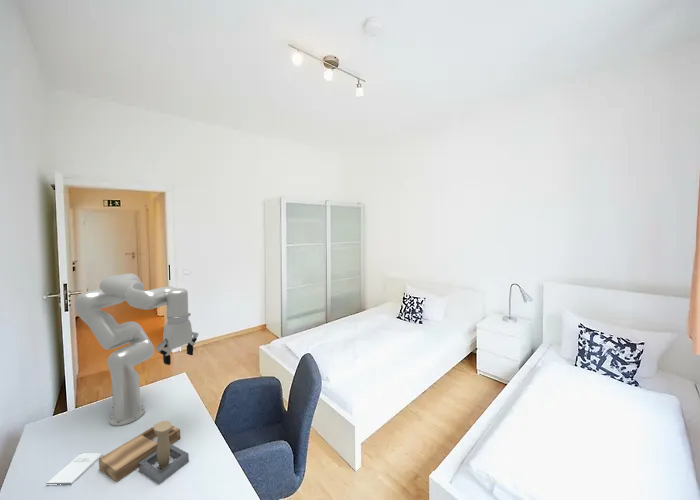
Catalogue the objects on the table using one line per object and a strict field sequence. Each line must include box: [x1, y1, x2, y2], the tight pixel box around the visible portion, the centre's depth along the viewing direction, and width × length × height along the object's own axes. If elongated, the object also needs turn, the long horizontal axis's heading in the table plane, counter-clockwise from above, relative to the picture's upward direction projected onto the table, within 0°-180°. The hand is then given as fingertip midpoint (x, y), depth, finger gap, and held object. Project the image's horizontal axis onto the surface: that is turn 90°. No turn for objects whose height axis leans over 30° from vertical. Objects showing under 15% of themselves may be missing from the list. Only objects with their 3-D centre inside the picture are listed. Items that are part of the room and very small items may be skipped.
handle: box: [153, 420, 173, 470], centre depth 102 cm, size 5×6×15 cm
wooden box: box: [98, 425, 181, 483], centre depth 107 cm, size 11×22×4 cm, turn 155°
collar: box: [138, 444, 190, 485], centre depth 102 cm, size 12×10×3 cm
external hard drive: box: [45, 452, 104, 486], centre depth 100 cm, size 2×8×12 cm
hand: (179, 359), depth 119 cm, fingers open, 9 cm apart
